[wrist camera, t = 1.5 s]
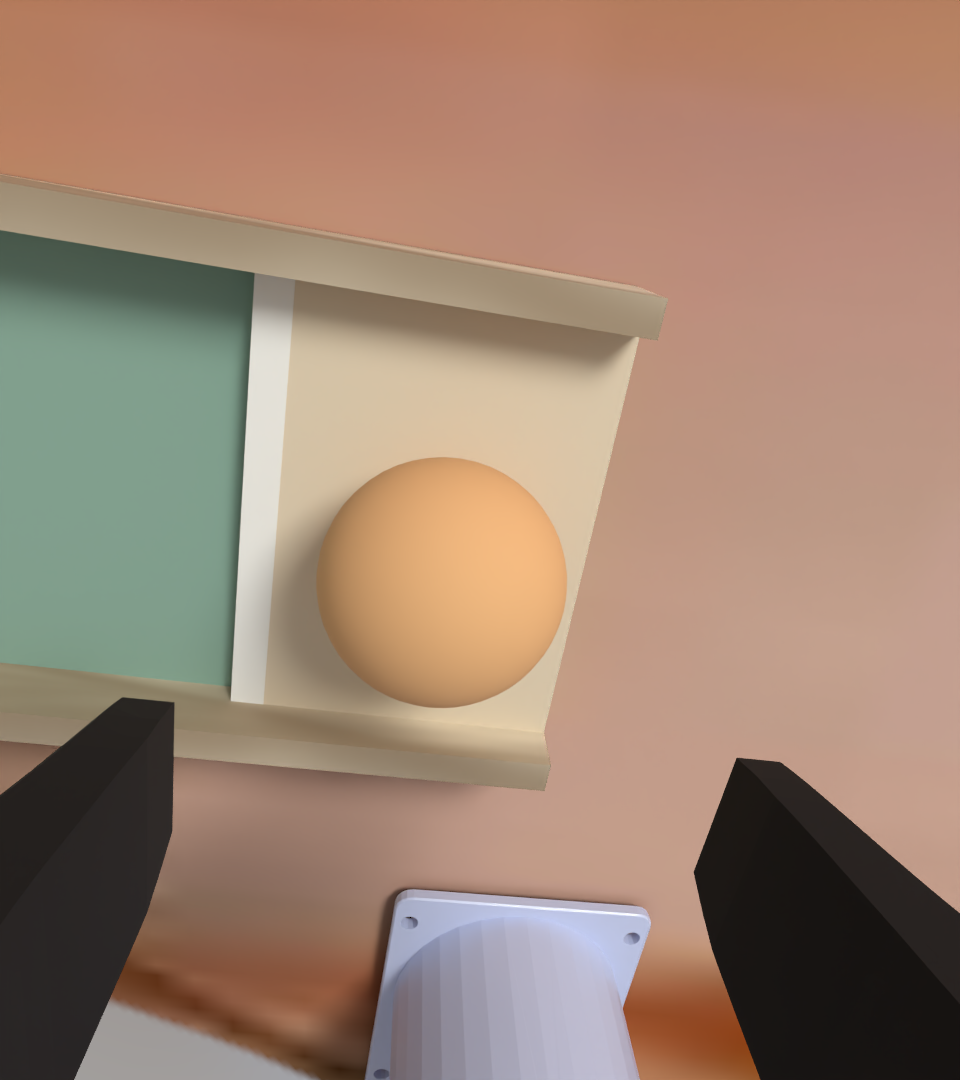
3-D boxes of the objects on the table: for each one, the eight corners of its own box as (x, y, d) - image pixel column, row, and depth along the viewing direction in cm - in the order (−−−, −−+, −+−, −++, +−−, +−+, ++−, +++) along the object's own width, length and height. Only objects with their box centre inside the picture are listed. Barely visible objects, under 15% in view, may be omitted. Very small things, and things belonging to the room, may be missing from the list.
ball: (525, 639, 19) (556, 774, 15) (321, 615, 19) (288, 748, 14) (568, 446, 18) (618, 532, 13) (342, 412, 17) (311, 490, 12)
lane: (531, 729, 22) (537, 757, 21) (-124, 662, 20) (-158, 689, 19) (636, 285, 17) (650, 291, 16) (-201, 138, 15) (-251, 133, 14)
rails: (531, 729, 22) (544, 791, 20) (-124, 662, 20) (-196, 722, 18) (636, 285, 17) (668, 298, 15) (-201, 138, 15) (-311, 127, 13)
